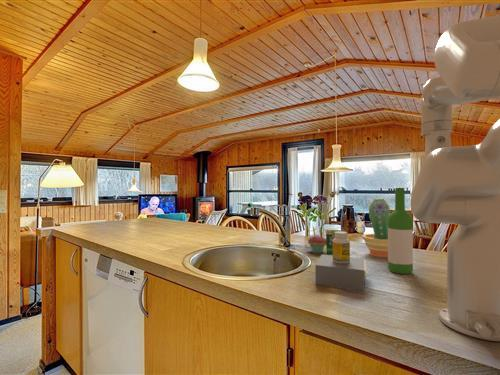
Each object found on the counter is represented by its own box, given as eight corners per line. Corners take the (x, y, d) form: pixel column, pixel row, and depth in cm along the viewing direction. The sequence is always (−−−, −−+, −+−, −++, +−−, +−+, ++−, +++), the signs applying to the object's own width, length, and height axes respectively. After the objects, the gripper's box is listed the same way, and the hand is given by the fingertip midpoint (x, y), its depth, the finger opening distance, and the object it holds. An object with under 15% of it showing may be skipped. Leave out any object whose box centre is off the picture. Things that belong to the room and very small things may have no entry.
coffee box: (325, 262, 107) (325, 229, 107) (326, 260, 109) (326, 228, 109) (346, 265, 103) (346, 231, 103) (347, 263, 106) (347, 230, 106)
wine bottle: (413, 276, 89) (412, 187, 89) (387, 272, 93) (386, 187, 93) (412, 270, 96) (412, 187, 96) (388, 267, 100) (388, 187, 100)
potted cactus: (354, 253, 121) (354, 198, 121) (374, 248, 129) (374, 197, 129) (388, 261, 108) (387, 199, 108) (407, 255, 117) (407, 198, 117)
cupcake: (307, 253, 122) (307, 227, 122) (308, 248, 130) (308, 224, 130) (326, 254, 119) (326, 227, 119) (327, 250, 127) (326, 225, 127)
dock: (365, 291, 77) (365, 270, 77) (315, 284, 83) (315, 264, 83) (365, 276, 90) (365, 258, 90) (321, 271, 96) (321, 254, 96)
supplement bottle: (339, 258, 90) (339, 230, 90) (353, 262, 85) (353, 232, 85) (329, 261, 87) (328, 231, 87) (342, 265, 82) (342, 234, 82)
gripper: (462, 121, 69) (462, 186, 69) (443, 133, 85) (443, 186, 85) (428, 124, 72) (428, 187, 72) (416, 135, 88) (416, 186, 88)
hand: (436, 186), depth 79 cm, fingers open, 9 cm apart
